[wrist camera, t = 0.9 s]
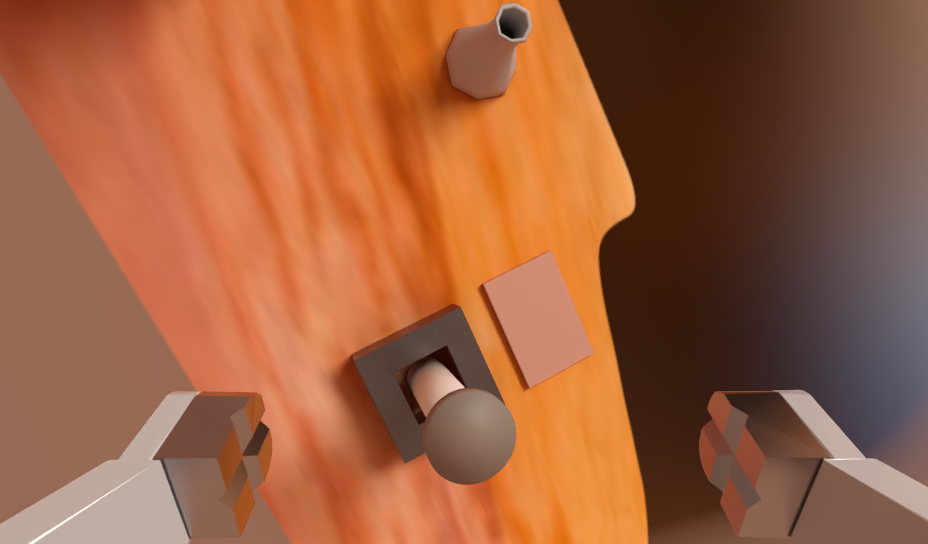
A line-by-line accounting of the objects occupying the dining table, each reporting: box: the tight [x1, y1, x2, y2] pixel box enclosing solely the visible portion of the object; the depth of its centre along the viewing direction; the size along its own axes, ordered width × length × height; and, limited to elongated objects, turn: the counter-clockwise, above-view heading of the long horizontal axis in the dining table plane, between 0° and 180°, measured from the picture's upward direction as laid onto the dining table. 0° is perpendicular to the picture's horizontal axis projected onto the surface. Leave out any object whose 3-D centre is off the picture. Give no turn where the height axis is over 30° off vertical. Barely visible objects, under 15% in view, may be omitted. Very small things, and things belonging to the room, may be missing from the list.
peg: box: [407, 357, 516, 485], centre depth 45 cm, size 6×6×17 cm
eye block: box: [352, 304, 506, 463], centre depth 51 cm, size 11×11×3 cm
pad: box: [482, 251, 594, 388], centre depth 55 cm, size 12×8×1 cm, turn 25°
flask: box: [445, 3, 532, 99], centre depth 48 cm, size 7×7×10 cm
